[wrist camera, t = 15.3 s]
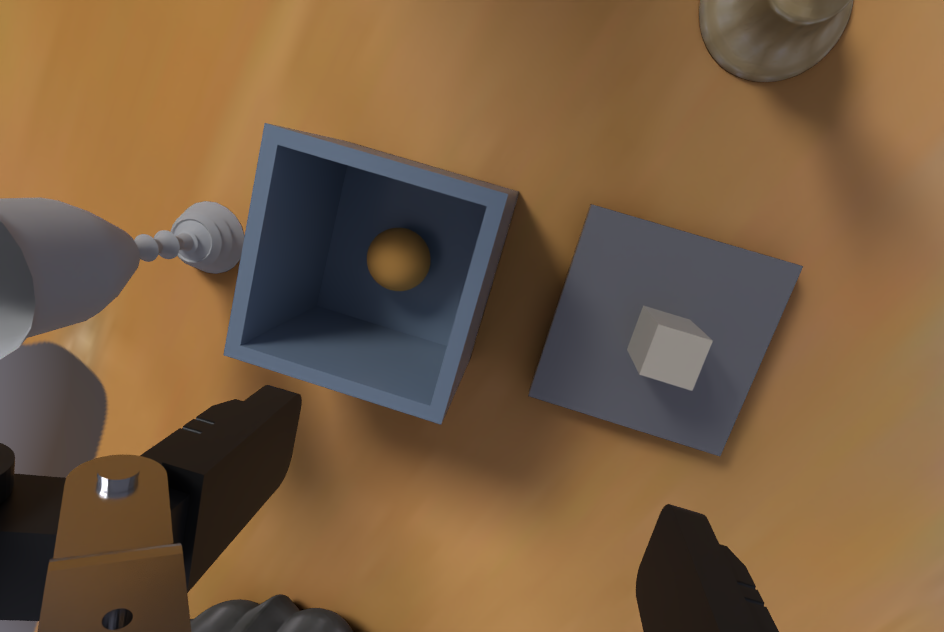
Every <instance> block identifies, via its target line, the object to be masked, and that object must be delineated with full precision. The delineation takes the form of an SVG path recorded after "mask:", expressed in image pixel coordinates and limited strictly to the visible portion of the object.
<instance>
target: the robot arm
mask: <svg viewBox="0 0 944 632" xmlns="http://www.w3.org/2000/svg"><path fill="white" fill-rule="evenodd" d="M301 403H302V399H301V395H300V394H297V393H293V392H290V391H287V390H283V389H280V388H276V387H273V386H270V385H265V386H264V387H262V388H261V389H260V390H258V391H257V392H256V393H254V394H253V395H251V396H250V397H249V398H247V399H246V400H245V401H240V400H237V399H234V400H231V401H227V402H224V403H220V404H217V405H214V406H212V407H210V408H209V409H207V410H206V411H204V412H203V413H201V414H200V415H198V416H197V417H196V419H193V420H191V421H190V422H188V423H187V424H185V425H184V426H183V428H182V429H181V428H180V429H178V430H177V431H175V432H174V433H172V434H171V435H169V436H168V437H166V438H165V439H164V440H162V441H161V442H159V443H158V444H156V445H155V446H153V447H152V448H151V449H149V450H148V451H146V452H145V453H143V454H142V455H140V456H136V455H110V456H105V457H100V458H96V459H93V460H90V461H87V462H85V463H83V464H81V465H79V466H78V467H76V468H75V469H74V470H72V471H71V472H70V473H69V475H68V476H67V478H60V477H48V476H36V475H24V474H14V467H15V455H14V452H13V451H12V450H11V449H10V448H9V447H8V446H6V445H4V444H1V443H0V620H25V621H39V626H38V632H191V624H190V614H189V605H188V596H187V593H188V592H189V591H190V589H191V588H192V587H193V586H194V585H195V584H196V582H197V581H198V580H199V579H200V578H201V577H202V575H203V574H204V573H205V572H206V571H207V570H208V568H209V567H210V566H211V565H212V564H213V563H214V562H215V560H216V559H217V558H218V557H219V556H220V555H221V553H222V552H223V551H224V550H225V549H226V548H227V546H228V545H229V544H230V543H231V542H232V541H233V539H234V538H235V537H236V536H237V535H238V534H239V532H240V531H241V530H242V529H243V528H244V527H245V526H246V524H247V523H248V522H249V521H250V520H251V519H252V517H253V516H254V515H255V514H256V513H257V512H258V510H259V509H260V508H261V507H262V506H263V505H264V503H265V502H266V501H267V500H268V499H269V498H270V496H271V495H272V494H273V493H274V492H275V491H276V490H277V488H278V487H279V486H280V484H281V483H282V481H283V479H284V477H285V475H286V473H287V471H288V468H289V465H290V462H291V457H292V452H293V447H294V442H295V436H296V431H297V426H298V420H299V415H300V410H301ZM755 587H756V586H755V584H754V582H753V580H752V578H751V576H750V574H749V572H748V570H747V568H746V566H745V565H744V564H743V563H742V562H741V561H740V560H739V559H738V558H737V557H736V556H735V555H734V554H733V553H732V551H731V550H730V549H729V548H728V547H727V546H724V545H720V544H719V543H718V540H717V538H716V536H715V534H714V532H713V530H712V528H711V526H710V523H709V521H708V519H707V517H706V516H705V515H703V514H700V513H697V512H694V511H690V510H687V509H683V508H680V507H677V506H673V505H670V504H667V505H666V506H665V507H664V508H663V509H662V511H661V513H660V515H659V518H658V520H657V523H656V526H655V528H654V531H653V533H652V536H651V538H650V541H649V543H648V546H647V548H646V551H645V553H644V556H643V559H642V561H641V564H640V566H639V570H638V574H637V580H636V598H637V603H638V608H639V612H640V617H641V622H642V626H643V631H644V632H779V631H778V629H777V627H776V625H775V623H774V621H773V619H772V617H771V615H770V613H769V611H768V609H767V607H764V602H763V600H762V598H761V596H760V594H759V592H758V590H755Z"/></svg>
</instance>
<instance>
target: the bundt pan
mask: <svg viewBox="0 0 944 632" xmlns="http://www.w3.org/2000/svg"><path fill="white" fill-rule="evenodd" d="M190 624H191V632H353V631H352V629H351V627H350V626H349V625H348V623H347V622H346V621H345V620H344V619H343V618H342V617H341V616H339V615H338V614H337V613H335V612H333V611H330V610H326V609H322V608H309V609H305V610H301V611H300V610H299V609H298V608H297V606H296V605H295V604H294V603H293V602H292V601H291V599H290V598H289V597H287V596H285V595H281V594H280V595H276V596H273V597H271V598H270V599H268V600H266V601H265V602H263V603H262V604H258V603H256V602H253V601H249V600H241V599H240V600H230V601H225V602H222V603H219V604H217V605H214V606H212V607H210V608H209V609H207V610H205V611H204V612H202V613H201V614H200V615H198V616H197V617H196V618H195V619H190Z"/></svg>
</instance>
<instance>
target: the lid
mask: <svg viewBox="0 0 944 632" xmlns="http://www.w3.org/2000/svg"><path fill="white" fill-rule="evenodd" d="M802 268H803V266H800V265H797V264H794V263H790V262H787V261H784V260H780V259H777V258H773V257H770V256H767V255H763V254H760V253H756V252H753V251H750V250H746V249H743V248H739V247H736V246H732V245H729V244H726V243H722V242H719V241H715V240H712V239H709V238H705V237H702V236H698V235H695V234H691V233H688V232H685V231H681V230H678V229H674V228H671V227H668V226H664V225H661V224H657V223H654V222H650V221H647V220H644V219H640V218H637V217H633V216H630V215H627V214H623V213H620V212H616V211H613V210H609V209H606V208H603V207H599V206H596V205H592V204H590V207H589V210H588V213H587V216H586V219H585V222H584V225H583V228H582V231H581V234H580V237H579V241H578V244H577V247H576V250H575V253H574V256H573V259H572V262H571V265H570V268H569V271H568V274H567V277H566V280H565V283H564V286H563V289H562V292H561V295H560V298H559V301H558V304H557V307H556V310H555V313H554V316H553V319H552V322H551V325H550V328H549V331H548V334H547V337H546V340H545V343H544V346H543V350H542V353H541V356H540V359H539V362H538V365H537V368H536V371H535V374H534V377H533V380H532V383H531V386H530V389H529V395H528V396H530V397H533V398H536V399H539V400H543V401H546V402H549V403H552V404H555V405H558V406H562V407H565V408H568V409H571V410H574V411H578V412H581V413H584V414H587V415H590V416H593V417H597V418H600V419H603V420H606V421H609V422H612V423H616V424H619V425H622V426H625V427H628V428H632V429H635V430H638V431H641V432H644V433H647V434H651V435H654V436H657V437H660V438H663V439H666V440H670V441H673V442H676V443H679V444H682V445H685V446H689V447H692V448H695V449H698V450H701V451H705V452H708V453H711V454H714V455H717V456H721V453H722V451H723V449H724V446H725V444H726V442H727V439H728V437H729V435H730V433H731V430H732V428H733V426H734V423H735V421H736V419H737V417H738V414H739V412H740V410H741V407H742V405H743V403H744V401H745V398H746V396H747V394H748V391H749V389H750V387H751V384H752V382H753V380H754V378H755V375H756V373H757V371H758V368H759V366H760V364H761V362H762V359H763V357H764V355H765V352H766V350H767V348H768V346H769V343H770V341H771V339H772V336H773V334H774V332H775V329H776V327H777V325H778V323H779V320H780V318H781V316H782V313H783V311H784V309H785V307H786V304H787V302H788V300H789V297H790V295H791V293H792V291H793V288H794V286H795V284H796V281H797V279H798V277H799V274H800V272H801V270H802Z"/></svg>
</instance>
